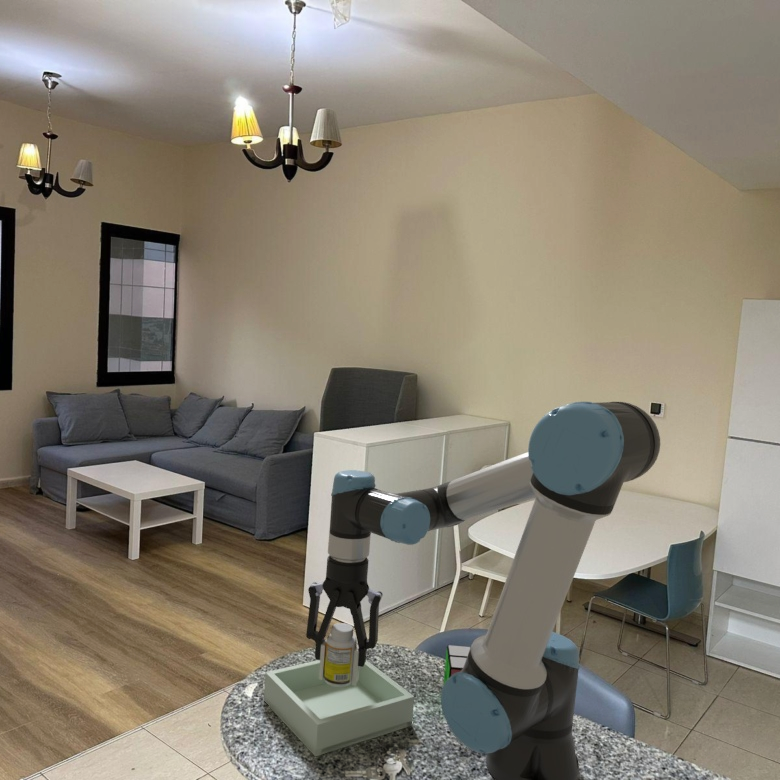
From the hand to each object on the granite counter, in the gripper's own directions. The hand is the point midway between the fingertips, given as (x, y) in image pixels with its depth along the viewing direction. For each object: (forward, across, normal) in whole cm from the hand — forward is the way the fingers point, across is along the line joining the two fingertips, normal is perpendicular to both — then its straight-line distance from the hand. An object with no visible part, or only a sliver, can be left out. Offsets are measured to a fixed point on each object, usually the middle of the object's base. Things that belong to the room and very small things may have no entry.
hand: (338, 678), depth 130 cm
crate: (+7, 0, 0) cm, 7 cm away
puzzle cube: (+7, -24, -10) cm, 27 cm away
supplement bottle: (+1, 0, 0) cm, 1 cm away
